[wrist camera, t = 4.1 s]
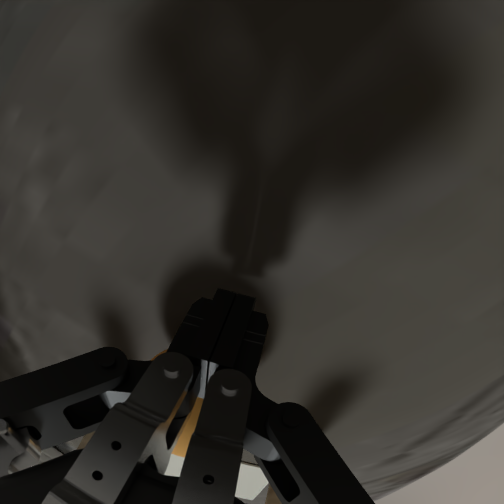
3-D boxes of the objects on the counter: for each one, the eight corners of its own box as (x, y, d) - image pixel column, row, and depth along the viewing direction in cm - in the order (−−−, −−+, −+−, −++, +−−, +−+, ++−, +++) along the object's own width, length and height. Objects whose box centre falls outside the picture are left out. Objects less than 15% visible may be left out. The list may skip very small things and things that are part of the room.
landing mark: (134, 426, 25) (134, 428, 25) (278, 469, 24) (278, 471, 24) (148, 468, 33) (148, 469, 33) (252, 498, 32) (252, 500, 31)
